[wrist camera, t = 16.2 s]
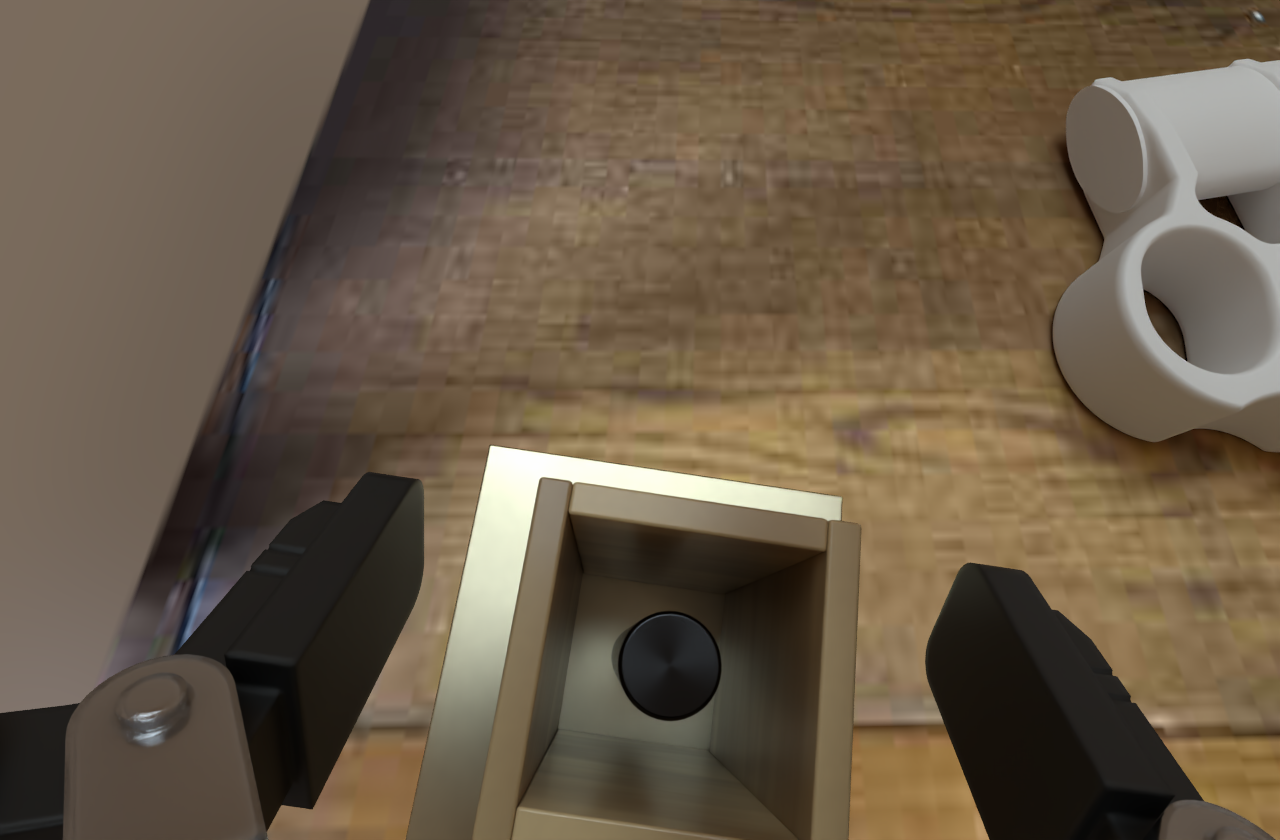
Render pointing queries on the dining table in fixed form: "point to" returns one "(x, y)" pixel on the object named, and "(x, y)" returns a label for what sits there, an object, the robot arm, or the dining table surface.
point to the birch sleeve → (744, 701)
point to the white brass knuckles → (1179, 253)
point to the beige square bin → (577, 633)
